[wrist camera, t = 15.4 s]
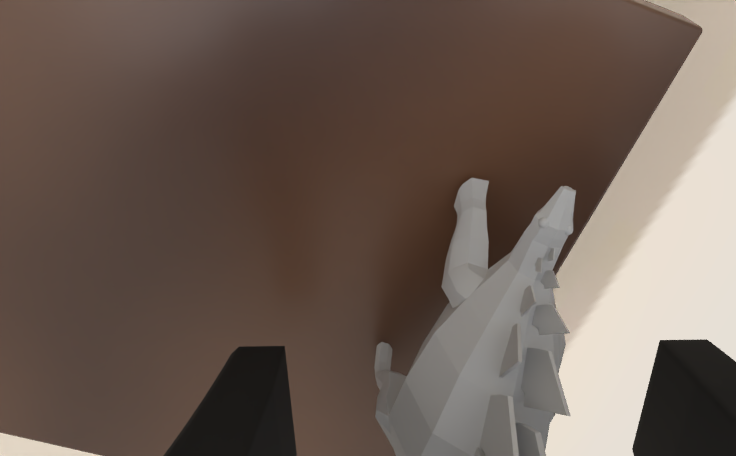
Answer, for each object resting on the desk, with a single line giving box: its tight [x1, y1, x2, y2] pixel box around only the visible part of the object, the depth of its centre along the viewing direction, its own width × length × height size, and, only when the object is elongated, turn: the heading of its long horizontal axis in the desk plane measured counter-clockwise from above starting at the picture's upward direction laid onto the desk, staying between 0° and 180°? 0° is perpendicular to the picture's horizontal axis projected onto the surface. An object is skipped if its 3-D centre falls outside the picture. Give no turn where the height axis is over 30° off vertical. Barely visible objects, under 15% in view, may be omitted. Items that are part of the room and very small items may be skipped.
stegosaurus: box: [374, 178, 576, 456], centre depth 9 cm, size 2×7×5 cm, turn 163°
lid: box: [0, 0, 702, 456], centre depth 10 cm, size 11×10×1 cm
